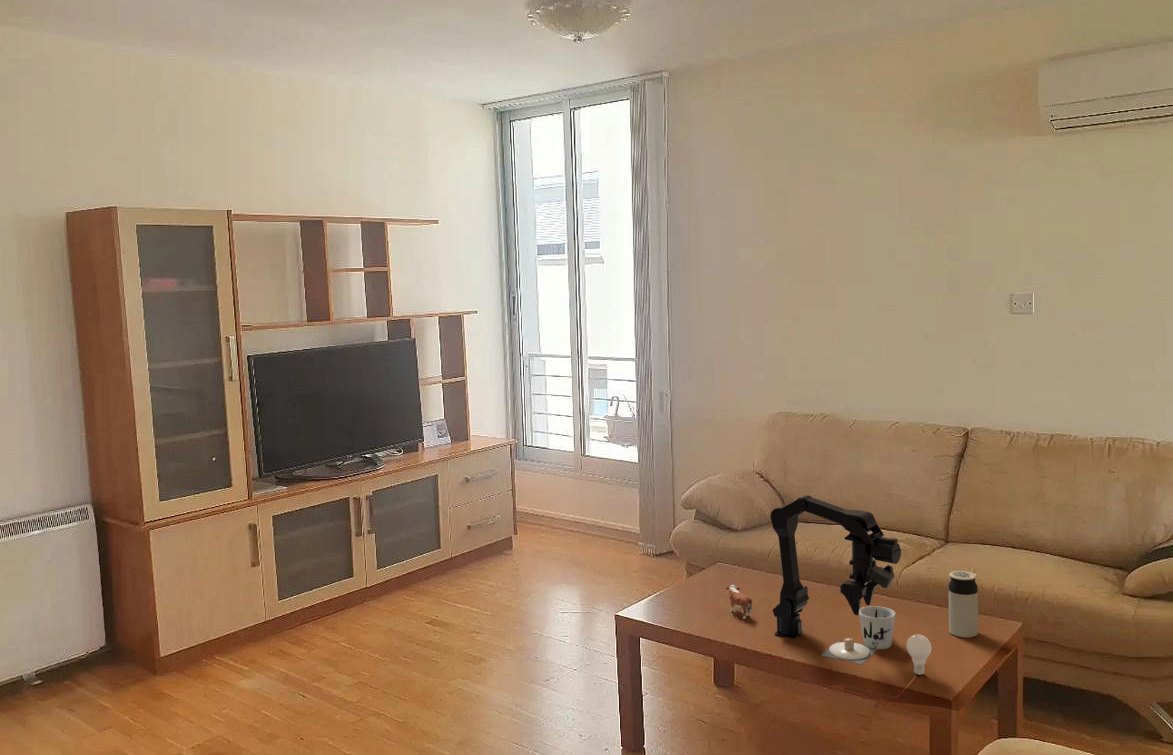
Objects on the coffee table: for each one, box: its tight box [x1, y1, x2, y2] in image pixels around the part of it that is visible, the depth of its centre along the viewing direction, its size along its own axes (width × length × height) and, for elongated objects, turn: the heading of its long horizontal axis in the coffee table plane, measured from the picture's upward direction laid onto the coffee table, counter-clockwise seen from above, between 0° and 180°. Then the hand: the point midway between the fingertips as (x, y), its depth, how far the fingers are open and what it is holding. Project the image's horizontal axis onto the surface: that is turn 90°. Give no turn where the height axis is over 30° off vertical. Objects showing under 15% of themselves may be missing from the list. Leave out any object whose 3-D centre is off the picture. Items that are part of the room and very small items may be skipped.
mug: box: [858, 605, 897, 650], centre depth 270 cm, size 10×15×10 cm
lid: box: [828, 637, 869, 660], centre depth 263 cm, size 11×11×4 cm
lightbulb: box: [905, 634, 932, 676], centre depth 247 cm, size 6×6×11 cm
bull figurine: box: [725, 584, 753, 620], centre depth 298 cm, size 4×13×8 cm, turn 18°
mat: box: [820, 640, 878, 665], centre depth 263 cm, size 12×12×1 cm
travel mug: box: [948, 570, 979, 639], centre depth 273 cm, size 8×8×18 cm
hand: (862, 609), depth 262 cm, fingers open, 9 cm apart
